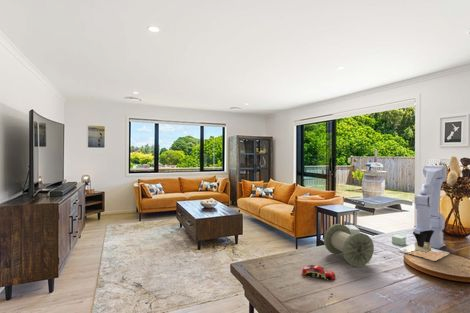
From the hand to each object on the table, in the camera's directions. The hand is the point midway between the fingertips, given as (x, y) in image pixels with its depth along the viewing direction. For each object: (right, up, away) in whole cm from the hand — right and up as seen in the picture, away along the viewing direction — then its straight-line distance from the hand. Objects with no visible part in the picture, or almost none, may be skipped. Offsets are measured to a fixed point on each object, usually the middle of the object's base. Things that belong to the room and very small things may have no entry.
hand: (423, 245), depth 133 cm
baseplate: (0, -4, 0) cm, 4 cm away
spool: (-41, -5, -6) cm, 42 cm away
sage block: (-3, -4, +14) cm, 15 cm away
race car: (-60, -6, -23) cm, 65 cm away
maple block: (0, -3, 0) cm, 3 cm away
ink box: (-33, -5, +7) cm, 34 cm away
